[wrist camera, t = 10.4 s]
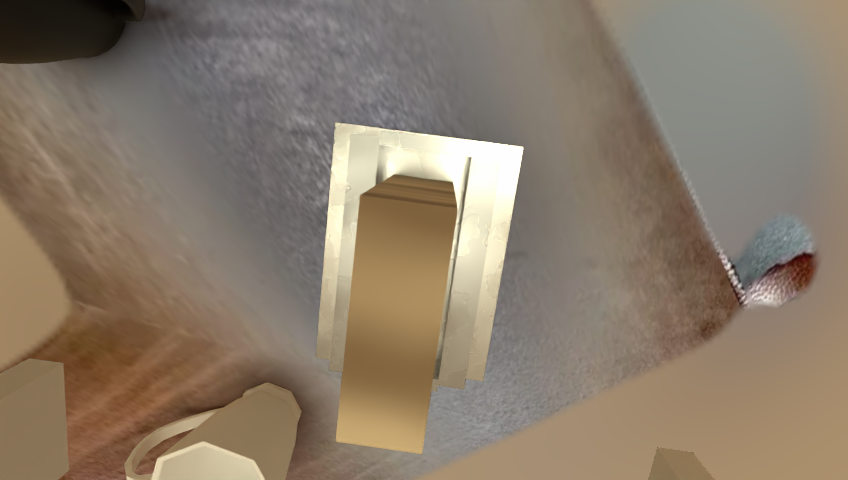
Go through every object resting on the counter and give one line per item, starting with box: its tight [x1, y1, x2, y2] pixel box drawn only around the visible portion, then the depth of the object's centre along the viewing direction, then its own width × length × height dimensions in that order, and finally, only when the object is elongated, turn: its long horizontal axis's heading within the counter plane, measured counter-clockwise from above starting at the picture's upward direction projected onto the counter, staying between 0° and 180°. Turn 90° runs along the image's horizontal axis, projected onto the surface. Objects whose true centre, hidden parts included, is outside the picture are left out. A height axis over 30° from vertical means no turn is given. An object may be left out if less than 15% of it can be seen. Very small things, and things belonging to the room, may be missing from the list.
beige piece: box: [316, 122, 523, 392], centre depth 27 cm, size 15×11×3 cm
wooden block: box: [336, 174, 458, 454], centre depth 22 cm, size 10×4×11 cm, turn 173°
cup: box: [124, 382, 302, 480], centre depth 27 cm, size 7×10×8 cm
